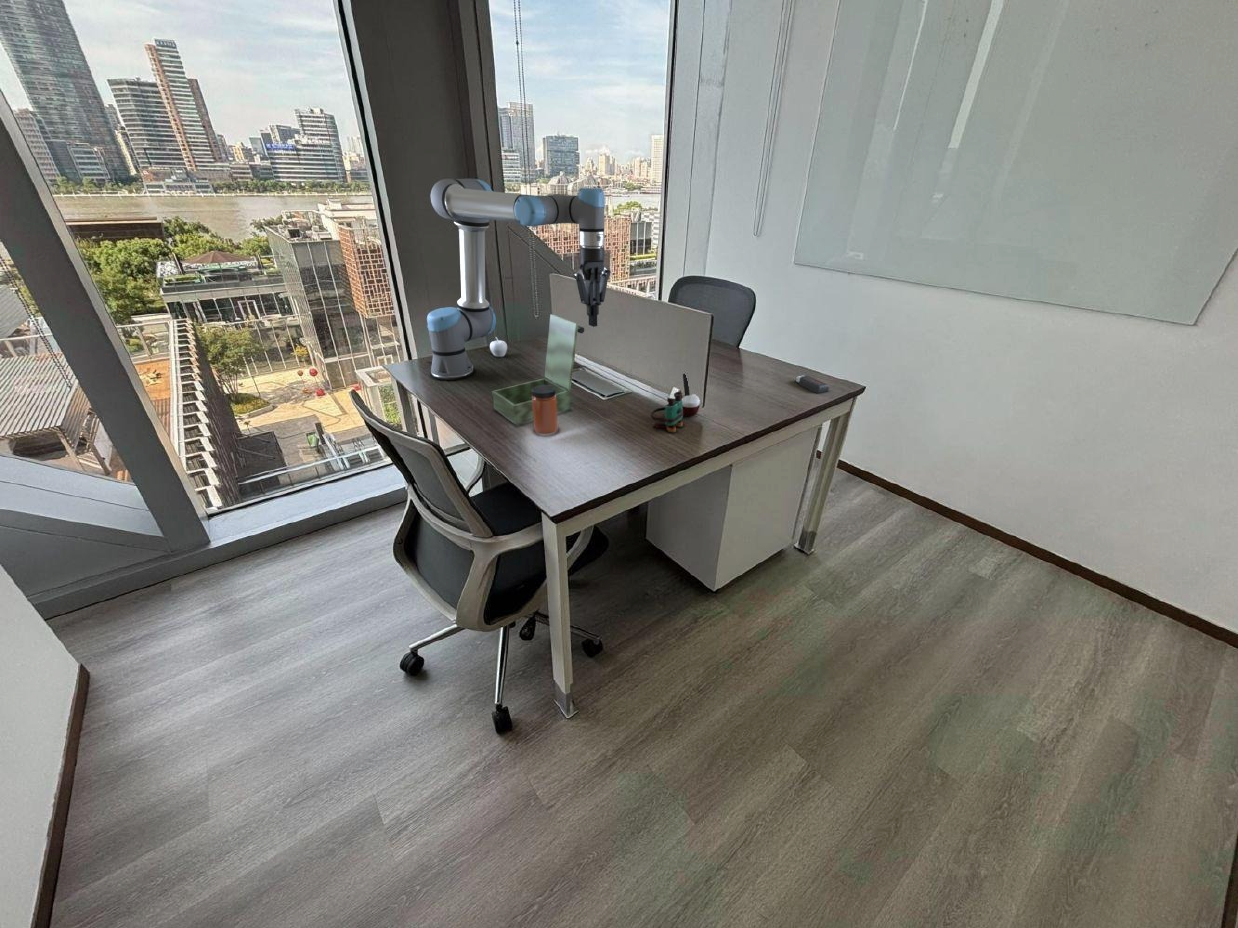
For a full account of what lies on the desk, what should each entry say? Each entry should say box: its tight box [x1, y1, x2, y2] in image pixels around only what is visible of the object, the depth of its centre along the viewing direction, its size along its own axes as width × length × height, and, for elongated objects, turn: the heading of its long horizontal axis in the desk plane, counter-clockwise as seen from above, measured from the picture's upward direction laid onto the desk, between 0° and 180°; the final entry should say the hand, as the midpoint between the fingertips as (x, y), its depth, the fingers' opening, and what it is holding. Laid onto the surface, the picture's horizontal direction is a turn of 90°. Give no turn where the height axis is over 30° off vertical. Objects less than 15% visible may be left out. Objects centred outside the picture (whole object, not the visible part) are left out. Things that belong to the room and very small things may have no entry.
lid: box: [544, 313, 585, 391], centre depth 157 cm, size 20×15×6 cm
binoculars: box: [650, 391, 684, 433], centre depth 147 cm, size 9×11×10 cm
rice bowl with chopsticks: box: [681, 373, 701, 418], centre depth 154 cm, size 10×6×12 cm, turn 173°
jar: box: [532, 385, 559, 435], centre depth 142 cm, size 7×7×13 cm
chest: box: [491, 377, 571, 425], centre depth 156 cm, size 20×15×7 cm
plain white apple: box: [489, 336, 508, 358], centre depth 203 cm, size 7×7×8 cm
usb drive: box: [795, 375, 830, 394], centre depth 179 cm, size 5×12×3 cm, turn 25°
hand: (593, 325), depth 159 cm, fingers closed
